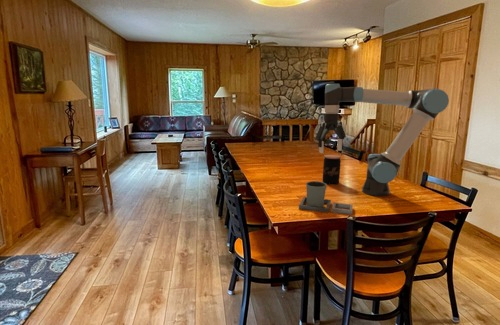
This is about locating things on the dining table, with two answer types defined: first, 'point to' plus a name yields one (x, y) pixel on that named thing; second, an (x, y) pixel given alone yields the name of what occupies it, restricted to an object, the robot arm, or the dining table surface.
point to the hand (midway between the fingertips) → (330, 151)
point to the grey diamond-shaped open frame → (342, 211)
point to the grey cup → (315, 193)
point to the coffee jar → (331, 169)
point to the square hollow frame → (314, 208)
